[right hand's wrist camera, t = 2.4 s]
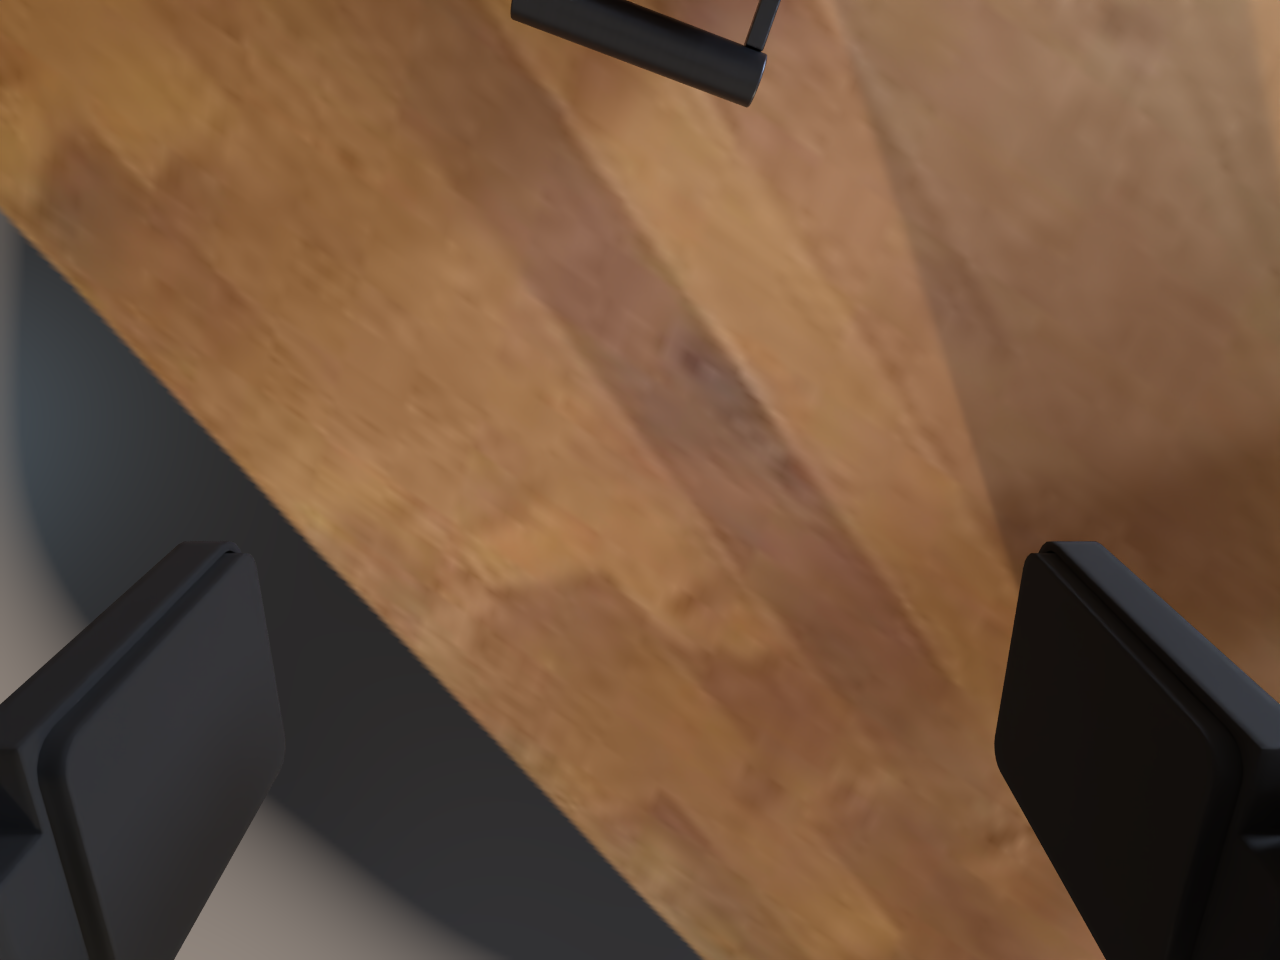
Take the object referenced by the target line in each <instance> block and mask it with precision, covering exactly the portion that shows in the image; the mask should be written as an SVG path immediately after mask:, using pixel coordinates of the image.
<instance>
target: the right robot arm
mask: <svg viewBox="0 0 1280 960" xmlns="http://www.w3.org/2000/svg"><path fill="white" fill-rule="evenodd" d="M285 745H286V743H285V734H284V728H283V722H282V716H281V710H280V704H279V698H278V692H277V686H276V680H275V674H274V668H273V662H272V656H271V650H270V644H269V638H268V632H267V626H266V620H265V614H264V608H263V602H262V596H261V590H260V584H259V578H258V572H257V567H256V563H255V560H254V558H253V556H252V555H250V554H249V553H241V551H240V549H239V547H238V546H237V545H236V544H235V543H234V542H229V541H220V542H219V541H218V542H217V541H212V542H211V541H210V542H208V541H207V542H206V541H190V542H189V541H188V542H187V541H185V542H182V543H180V544H179V545H177V546H176V547H175V548H174V549H173V550H172V551H171V552H170V553H169V554H168V555H166V556H165V557H164V558H163V559H162V560H161V561H160V562H159V563H157V564H156V565H155V566H154V567H153V568H152V569H151V570H150V571H149V572H147V573H146V574H145V575H144V576H143V577H142V578H141V579H140V580H138V581H137V582H136V583H135V584H134V585H133V586H132V587H131V588H130V589H128V590H127V591H126V592H125V593H124V594H123V595H122V596H121V597H120V598H118V599H117V600H116V601H115V602H114V603H113V604H112V605H111V606H109V607H108V608H107V609H106V610H105V611H104V612H103V613H102V614H101V615H99V616H98V617H97V618H96V619H95V620H94V621H93V622H92V623H91V624H89V625H88V626H87V627H86V628H85V629H84V630H83V631H82V632H81V633H79V634H78V635H77V636H76V637H75V638H74V639H73V640H72V641H70V642H69V643H68V644H67V645H66V646H65V647H64V648H63V649H62V650H60V651H59V652H58V653H57V654H56V655H55V656H54V657H53V658H52V659H50V660H49V661H48V662H47V663H46V664H45V665H44V666H43V667H42V668H40V669H39V670H38V671H37V672H36V673H35V674H34V675H33V676H31V677H30V678H29V679H28V680H27V681H26V682H25V683H24V684H23V685H21V686H20V687H19V688H18V689H17V690H16V691H15V692H14V693H12V694H11V695H10V696H9V697H8V698H7V699H6V700H5V701H4V702H2V703H1V704H0V960H174V959H175V957H176V955H177V953H178V952H179V950H180V948H181V946H182V944H183V943H184V941H185V939H186V937H187V936H188V934H189V932H190V930H191V928H192V927H193V925H194V923H195V921H196V920H197V918H198V916H199V914H200V912H201V911H202V909H203V907H204V905H205V904H206V902H207V900H208V898H209V896H210V895H211V893H212V891H213V889H214V888H215V886H216V884H217V882H218V880H219V879H220V877H221V875H222V873H223V872H224V870H225V868H226V866H227V864H228V863H229V861H230V859H231V857H232V856H233V854H234V852H235V850H236V848H237V847H238V845H239V843H240V841H241V840H242V838H243V836H244V834H245V832H246V831H247V829H248V827H249V825H250V823H251V822H252V820H253V818H254V816H255V815H256V813H257V811H258V809H259V807H260V806H261V804H262V802H263V800H264V799H265V797H266V795H267V793H268V791H269V790H270V788H271V786H272V784H273V783H274V781H275V779H276V777H277V775H278V774H279V772H280V770H281V767H282V765H283V761H284V756H285ZM994 745H995V756H996V761H997V765H998V767H999V770H1000V772H1001V774H1002V775H1003V777H1004V779H1005V781H1006V783H1007V784H1008V786H1009V788H1010V790H1011V791H1012V793H1013V795H1014V797H1015V799H1016V800H1017V802H1018V804H1019V806H1020V807H1021V809H1022V811H1023V813H1024V815H1025V816H1026V818H1027V820H1028V822H1029V824H1030V825H1031V827H1032V829H1033V831H1034V832H1035V834H1036V836H1037V838H1038V840H1039V841H1040V843H1041V845H1042V847H1043V848H1044V850H1045V852H1046V854H1047V856H1048V857H1049V859H1050V861H1051V863H1052V864H1053V866H1054V868H1055V870H1056V872H1057V873H1058V875H1059V877H1060V879H1061V880H1062V882H1063V884H1064V886H1065V888H1066V889H1067V891H1068V893H1069V895H1070V896H1071V898H1072V900H1073V902H1074V904H1075V905H1076V907H1077V909H1078V911H1079V912H1080V914H1081V916H1082V918H1083V920H1084V921H1085V923H1086V925H1087V927H1088V928H1089V930H1090V932H1091V934H1092V936H1093V937H1094V939H1095V941H1096V943H1097V944H1098V946H1099V948H1100V950H1101V952H1102V953H1103V955H1104V957H1105V959H1106V960H1280V704H1279V703H1278V702H1276V701H1275V700H1274V699H1273V698H1272V697H1271V696H1270V695H1269V694H1268V693H1266V692H1265V691H1264V690H1263V689H1262V688H1261V687H1260V686H1259V685H1257V684H1256V683H1255V682H1254V681H1253V680H1252V679H1251V678H1250V677H1249V676H1247V675H1246V674H1245V673H1244V672H1243V671H1242V670H1241V669H1240V668H1239V667H1237V666H1236V665H1235V664H1234V663H1233V662H1232V661H1231V660H1230V659H1229V658H1227V657H1226V656H1225V655H1224V654H1223V653H1222V652H1221V651H1220V650H1218V649H1217V648H1216V647H1215V646H1214V645H1213V644H1212V643H1211V642H1210V641H1208V640H1207V639H1206V638H1205V637H1204V636H1203V635H1202V634H1201V633H1200V632H1198V631H1197V630H1196V629H1195V628H1194V627H1193V626H1192V625H1191V624H1189V623H1188V622H1187V621H1186V620H1185V619H1184V618H1183V617H1182V616H1181V615H1179V614H1178V613H1177V612H1176V611H1175V610H1174V609H1173V608H1172V607H1171V606H1169V605H1168V604H1167V603H1166V602H1165V601H1164V600H1163V599H1162V598H1160V597H1159V596H1158V595H1157V594H1156V593H1155V592H1154V591H1153V590H1152V589H1150V588H1149V587H1148V586H1147V585H1146V584H1145V583H1144V582H1143V581H1142V580H1140V579H1139V578H1138V577H1137V576H1136V575H1135V574H1134V573H1133V572H1132V571H1130V570H1129V569H1128V568H1127V567H1126V566H1125V565H1124V564H1123V563H1121V562H1120V561H1119V560H1118V559H1117V558H1116V557H1115V556H1114V555H1113V554H1111V553H1110V552H1109V551H1108V550H1107V549H1106V548H1105V547H1104V546H1103V545H1101V544H1100V543H1098V542H1096V541H1051V542H1046V543H1045V544H1044V545H1042V547H1041V549H1040V551H1039V553H1031V554H1030V555H1028V556H1027V558H1026V560H1025V563H1024V567H1023V572H1022V578H1021V584H1020V590H1019V596H1018V602H1017V608H1016V614H1015V620H1014V626H1013V632H1012V638H1011V644H1010V650H1009V656H1008V662H1007V668H1006V674H1005V680H1004V686H1003V692H1002V698H1001V704H1000V710H999V716H998V722H997V728H996V734H995V743H994Z"/></svg>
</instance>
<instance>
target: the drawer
mask: <svg viewBox="0 0 1280 960" xmlns="http://www.w3.org/2000/svg"><path fill="white" fill-rule="evenodd" d="M780 1H781V0H759V3H758V6H757V9H756V12H755V14H754V17H753V20H752V23H751V26H750V29H749V32H748V35H747V37H746V40H745V43H744V45H741V44H739V43H736V42H733V41H731V40H728V39H726V38H723V37H720V36H718V35H715V34H713V33H710V32H707V31H705V30H702V29H700V28H697V27H694V26H692V25H689V24H687V23H684V22H681V21H679V20H676V19H674V18H671V17H668V16H666V15H663V14H661V13H658V12H655V11H653V10H650V9H648V8H645V7H642V6H640V5H637V4H635V3H632V2H629V1H627V0H512V3H511V18H512V19H513V20H516V21H518V22H521V23H524V24H526V25H529V26H532V27H534V28H537V29H540V30H542V31H545V32H548V33H550V34H553V35H556V36H558V37H561V38H564V39H566V40H569V41H572V42H574V43H577V44H580V45H582V46H585V47H587V48H590V49H593V50H595V51H598V52H601V53H603V54H606V55H609V56H611V57H614V58H617V59H619V60H622V61H625V62H627V63H630V64H633V65H635V66H638V67H641V68H643V69H646V70H649V71H651V72H654V73H657V74H659V75H662V76H665V77H667V78H670V79H673V80H675V81H678V82H680V83H683V84H686V85H688V86H691V87H694V88H696V89H699V90H702V91H704V92H707V93H710V94H712V95H715V96H718V97H720V98H723V99H726V100H728V101H731V102H734V103H736V104H739V105H742V106H744V107H749V106H750V104H751V102H752V100H753V98H754V96H755V93H756V91H757V88H758V86H759V83H760V80H761V78H762V75H763V72H764V68H765V65H766V61H767V55H766V54H765V53H762V52H761V51H762V50H763V49H764V46H765V43H766V40H767V37H768V35H769V32H770V29H771V26H772V23H773V21H774V18H775V15H776V12H777V9H778V7H779V4H780Z"/></svg>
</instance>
